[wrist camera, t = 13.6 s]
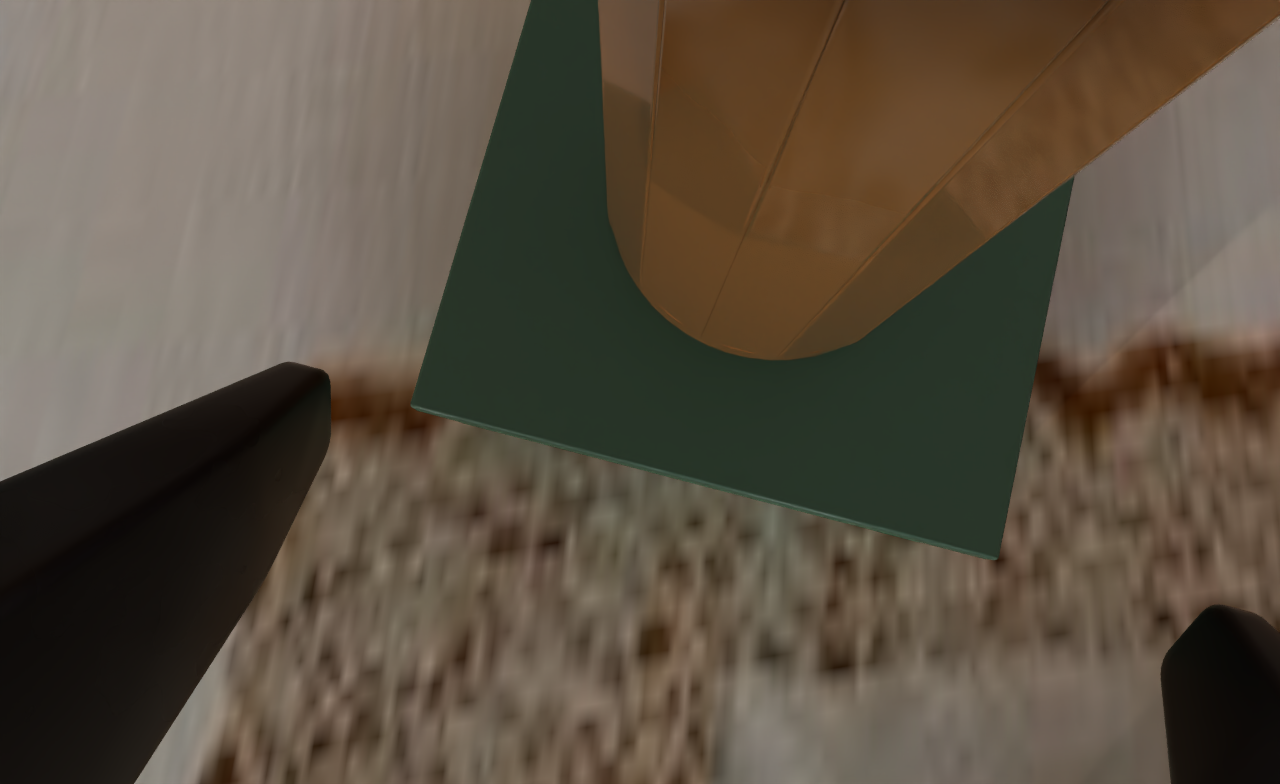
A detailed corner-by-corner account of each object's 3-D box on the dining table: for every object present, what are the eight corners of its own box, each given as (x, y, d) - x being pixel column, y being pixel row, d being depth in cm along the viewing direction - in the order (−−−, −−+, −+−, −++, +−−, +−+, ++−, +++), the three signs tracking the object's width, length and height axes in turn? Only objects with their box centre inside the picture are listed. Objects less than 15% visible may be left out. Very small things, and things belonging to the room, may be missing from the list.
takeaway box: (928, 554, 21) (999, 561, 17) (448, 428, 21) (408, 406, 17) (1023, 100, 23) (1109, 10, 19) (577, -13, 23) (567, -126, 19)
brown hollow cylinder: (800, 431, 17) (1248, 202, 5) (539, 214, 18) (351, -490, 5) (1003, 185, 18) (1829, -548, 6) (747, -17, 19) (996, -1088, 6)
